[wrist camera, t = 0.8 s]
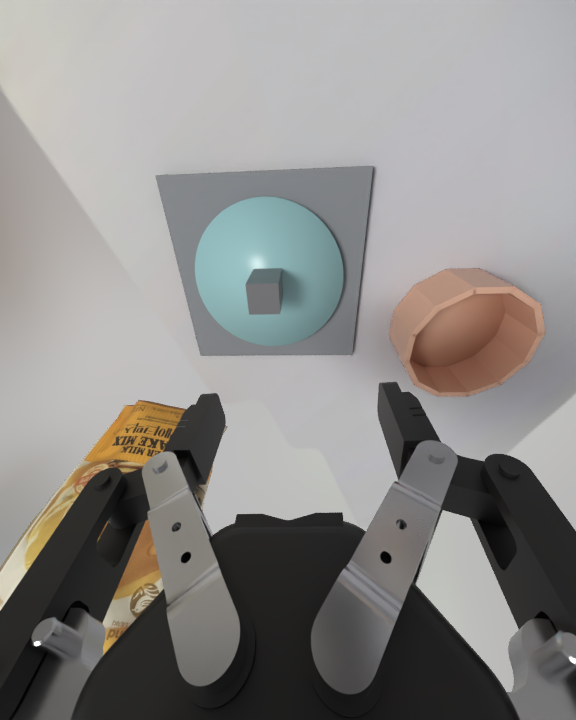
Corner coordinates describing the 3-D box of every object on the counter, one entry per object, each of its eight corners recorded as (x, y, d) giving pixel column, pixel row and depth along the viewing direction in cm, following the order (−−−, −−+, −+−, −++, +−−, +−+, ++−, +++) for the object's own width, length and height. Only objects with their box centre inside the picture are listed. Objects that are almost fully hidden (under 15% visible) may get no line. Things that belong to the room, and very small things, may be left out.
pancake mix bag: (231, 444, 48) (164, 698, 24) (119, 421, 46) (-71, 674, 23) (237, 418, 44) (164, 687, 21) (115, 391, 42) (-117, 657, 19)
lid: (181, 199, 27) (153, 204, 22) (348, 192, 26) (359, 196, 21) (212, 342, 35) (197, 369, 30) (337, 341, 34) (343, 369, 29)
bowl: (401, 270, 30) (420, 288, 25) (525, 267, 29) (571, 285, 24) (382, 366, 37) (395, 396, 32) (482, 366, 37) (510, 396, 32)
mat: (159, 175, 26) (155, 175, 26) (371, 166, 25) (373, 165, 24) (202, 352, 37) (200, 355, 37) (351, 351, 36) (352, 354, 35)
